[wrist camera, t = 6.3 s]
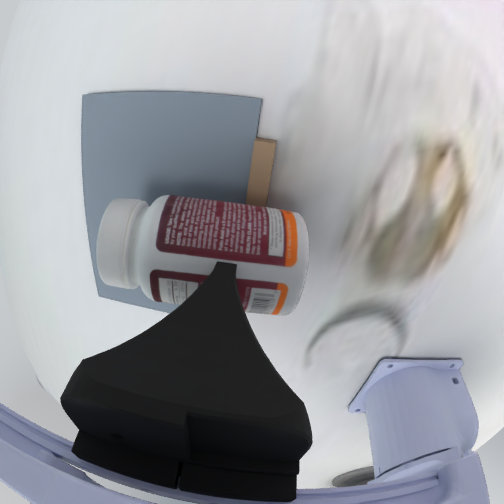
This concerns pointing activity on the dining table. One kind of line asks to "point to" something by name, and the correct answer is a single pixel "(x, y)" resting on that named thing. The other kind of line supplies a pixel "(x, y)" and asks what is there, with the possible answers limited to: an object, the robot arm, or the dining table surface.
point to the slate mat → (169, 157)
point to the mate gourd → (355, 477)
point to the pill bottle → (204, 249)
